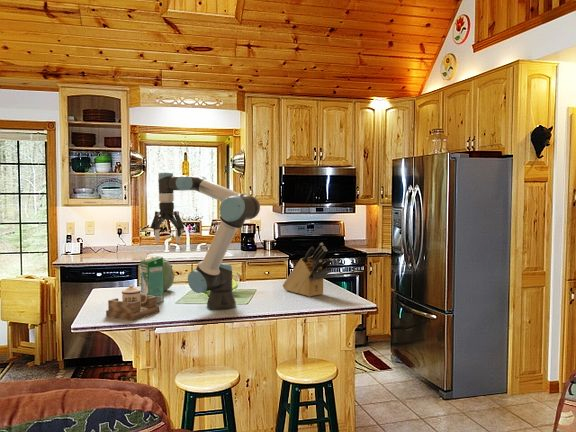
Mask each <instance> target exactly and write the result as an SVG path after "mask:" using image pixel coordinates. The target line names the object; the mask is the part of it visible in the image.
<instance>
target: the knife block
mask: <svg viewBox="0 0 576 432" xmlns="http://www.w3.org/2000/svg"><path fill="white" fill-rule="evenodd" d="M327 253H328V249H327V247H326V246H325V245H324V242H320V243H319V244H318V247H317V248H316V249H315V246H311V247H309V249H308V250H307V252H306V254H305V256H304V257H302V258H299V261H298V262H297V263H296V265H295V266H294V267H293V269H292V271H291V272H290V274H289V275H288V277H287V278H286V280H285V281H284V282H283V284H282V288H283V289H284V290H285V291H287V292H291V293H296V294H298V295H299V294H300V295H303V296H307V297H308V298H309V297H313V296H317V295H323V294H324V278H325V277H326V276H327V275H328V274H329V273H330V272H331V271H332V270H333V268H332V267H329V266H330V264H331V263H332V262H333V259H332V257H331V258H325V256H326V254H327Z"/></svg>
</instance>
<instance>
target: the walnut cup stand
mask: <svg viewBox="0 0 576 432" xmlns="http://www.w3.org/2000/svg"><path fill="white" fill-rule="evenodd" d="M145 299H146V296H145V295H141V302H143V301H145ZM107 301H108V302H107V303H108V304H107V305H108V309H107V310H106V311H105V317H106V318H111V317H113V319H118V318H120V319H119V320H125V319H126V320H127V321H136V320H139V319H141V317H142V318H144V316H145V317H148V316H150V315H154V314H158V313H159V312H160V305H158V303H157V296H149V295H147V300H146V302H145V303H142V304H141V308H140V301H136V302H132V303H130V302H123V301H121V300H119V298H111V299H109V300H107ZM147 315H148V316H147ZM138 318H139V319H138Z"/></svg>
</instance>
